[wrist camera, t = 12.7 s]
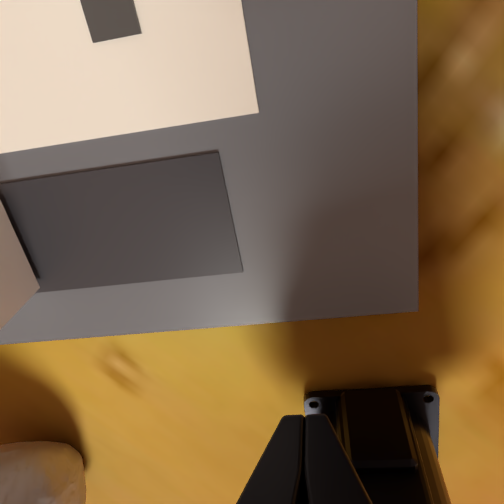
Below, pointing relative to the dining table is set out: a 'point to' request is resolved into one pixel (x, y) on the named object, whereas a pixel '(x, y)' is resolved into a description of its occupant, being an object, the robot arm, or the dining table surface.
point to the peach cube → (13, 272)
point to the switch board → (209, 162)
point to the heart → (41, 473)
